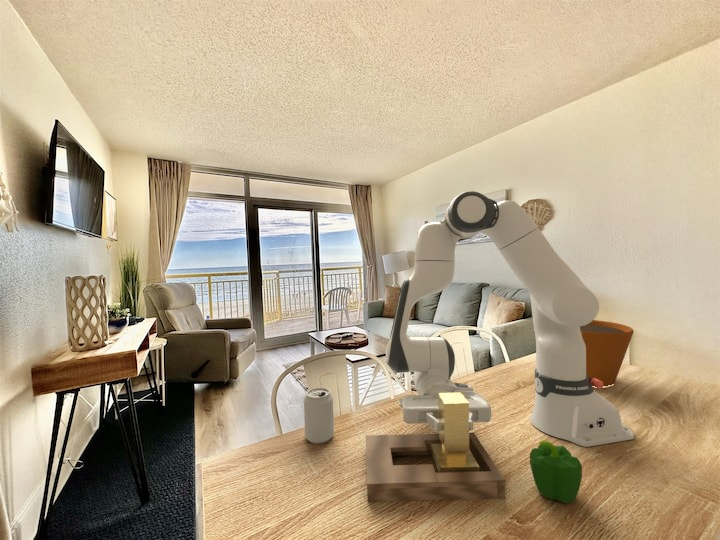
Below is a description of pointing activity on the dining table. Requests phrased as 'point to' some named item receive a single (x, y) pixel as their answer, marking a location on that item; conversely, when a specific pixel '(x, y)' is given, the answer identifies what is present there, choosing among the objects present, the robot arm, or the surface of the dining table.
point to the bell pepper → (556, 472)
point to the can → (318, 415)
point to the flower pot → (605, 349)
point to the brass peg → (454, 435)
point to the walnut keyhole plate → (426, 472)
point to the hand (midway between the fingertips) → (454, 427)
